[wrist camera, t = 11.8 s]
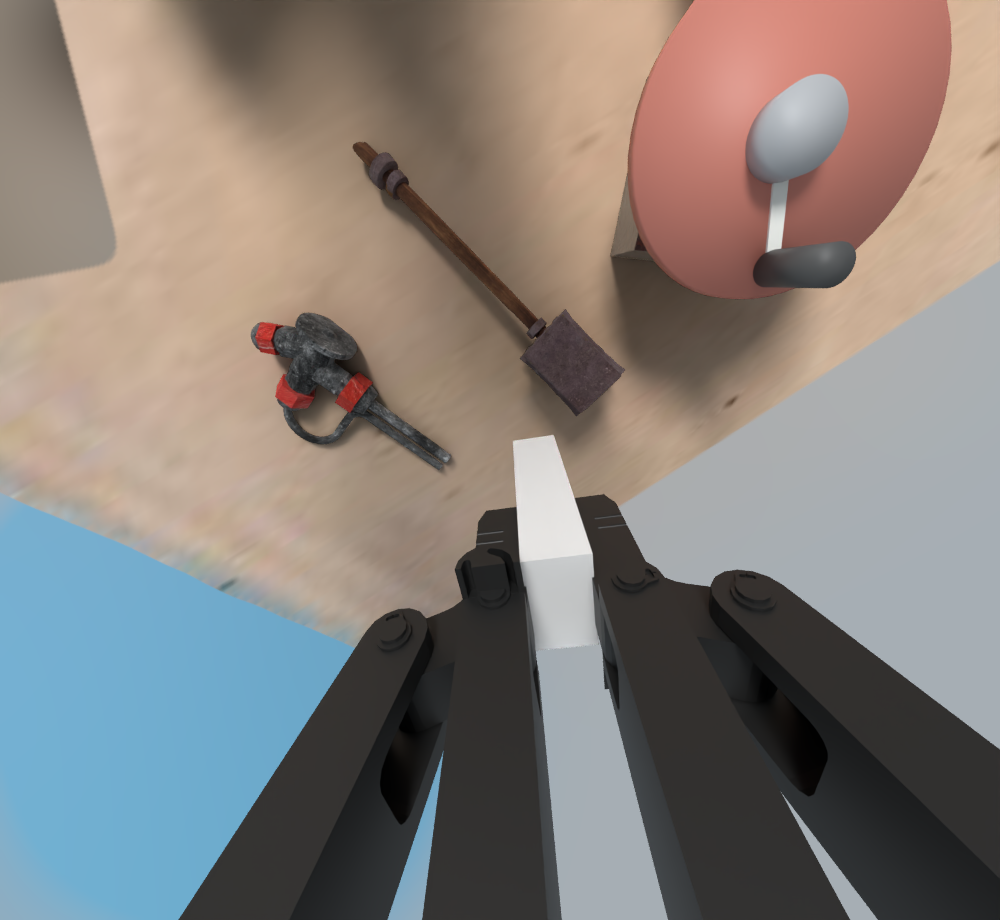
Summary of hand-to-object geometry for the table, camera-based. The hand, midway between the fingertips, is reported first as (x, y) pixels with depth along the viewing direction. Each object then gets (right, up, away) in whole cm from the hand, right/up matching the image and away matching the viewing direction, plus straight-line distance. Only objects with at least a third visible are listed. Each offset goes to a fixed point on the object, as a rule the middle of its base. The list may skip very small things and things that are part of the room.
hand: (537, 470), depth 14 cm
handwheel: (+18, +24, +15) cm, 34 cm away
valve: (-20, +7, +33) cm, 40 cm away
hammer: (-3, +20, +27) cm, 34 cm away
